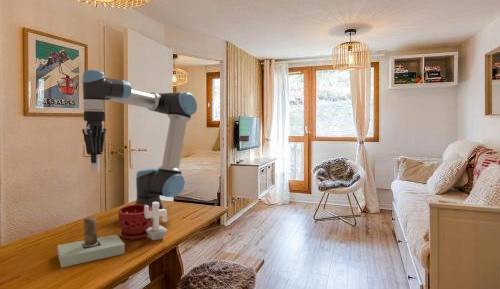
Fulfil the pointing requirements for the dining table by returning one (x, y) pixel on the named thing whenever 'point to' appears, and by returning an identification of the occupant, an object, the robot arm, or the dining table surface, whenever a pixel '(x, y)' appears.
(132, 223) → the plant pot
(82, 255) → the board
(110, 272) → the dining table surface
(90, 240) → the peg
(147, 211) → the figurine
